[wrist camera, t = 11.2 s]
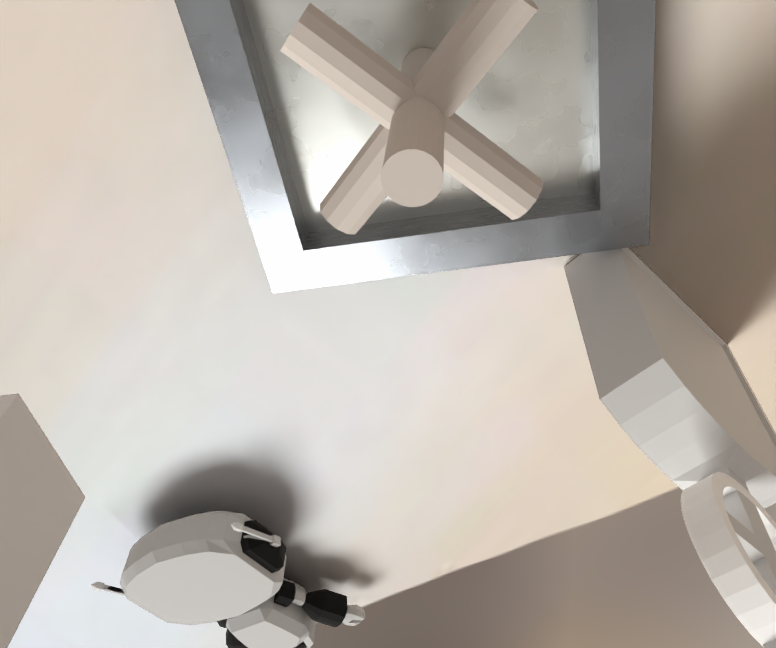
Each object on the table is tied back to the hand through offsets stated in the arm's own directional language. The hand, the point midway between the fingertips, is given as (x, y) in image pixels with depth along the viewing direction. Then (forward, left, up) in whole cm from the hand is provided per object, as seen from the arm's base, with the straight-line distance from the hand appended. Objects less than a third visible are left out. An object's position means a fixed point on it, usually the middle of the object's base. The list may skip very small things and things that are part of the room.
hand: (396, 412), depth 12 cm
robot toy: (-17, -31, -21) cm, 41 cm away
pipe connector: (0, 0, -20) cm, 20 cm away
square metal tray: (0, 0, -20) cm, 20 cm away
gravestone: (+9, -13, -21) cm, 26 cm away
